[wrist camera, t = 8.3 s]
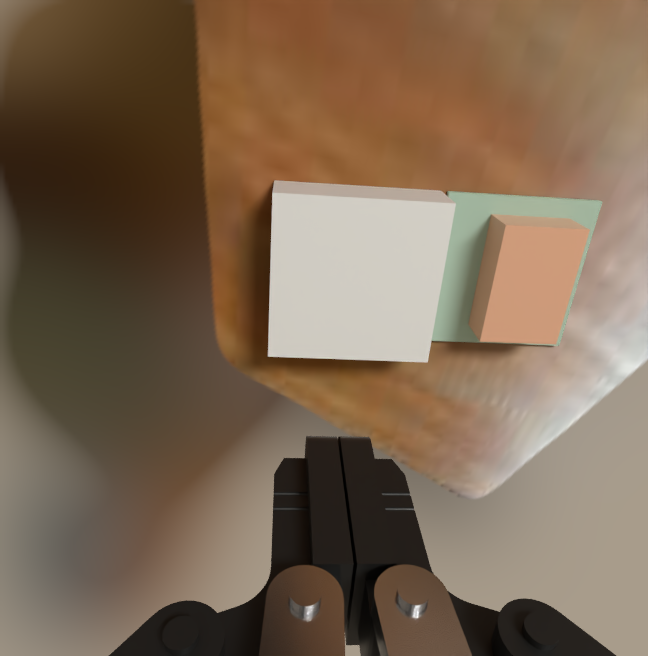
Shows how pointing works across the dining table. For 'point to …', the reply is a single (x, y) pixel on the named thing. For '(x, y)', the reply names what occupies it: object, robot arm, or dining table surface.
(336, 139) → the dining table surface
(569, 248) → the terracotta tile
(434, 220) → the block
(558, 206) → the green mat
